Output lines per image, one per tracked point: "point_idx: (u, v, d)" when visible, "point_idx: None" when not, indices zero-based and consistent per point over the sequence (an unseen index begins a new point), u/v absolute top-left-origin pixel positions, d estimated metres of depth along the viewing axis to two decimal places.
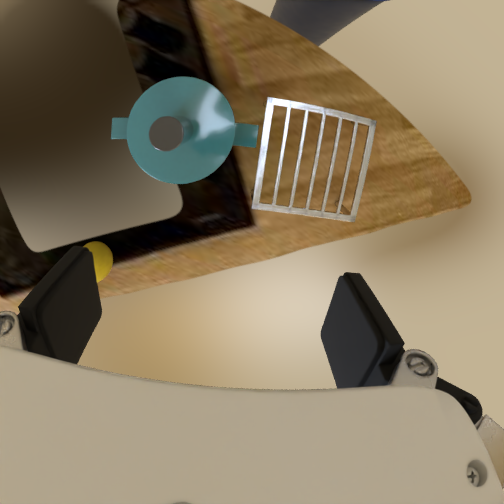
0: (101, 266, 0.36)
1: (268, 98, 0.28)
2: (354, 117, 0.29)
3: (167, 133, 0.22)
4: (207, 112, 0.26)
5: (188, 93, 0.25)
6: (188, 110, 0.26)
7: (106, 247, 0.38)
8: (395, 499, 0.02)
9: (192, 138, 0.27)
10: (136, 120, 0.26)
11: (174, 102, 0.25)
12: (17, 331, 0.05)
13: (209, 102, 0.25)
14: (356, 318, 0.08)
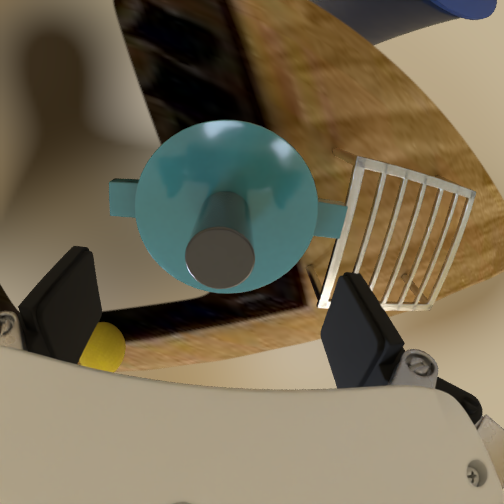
0: (113, 361, 0.27)
1: (358, 158, 0.19)
2: (455, 188, 0.20)
3: (222, 260, 0.12)
4: (275, 188, 0.17)
5: (242, 152, 0.16)
6: (242, 182, 0.16)
7: (116, 332, 0.29)
8: (395, 499, 0.02)
9: None
10: (150, 194, 0.16)
11: (217, 166, 0.16)
12: (17, 331, 0.05)
13: (279, 170, 0.16)
14: (356, 318, 0.08)
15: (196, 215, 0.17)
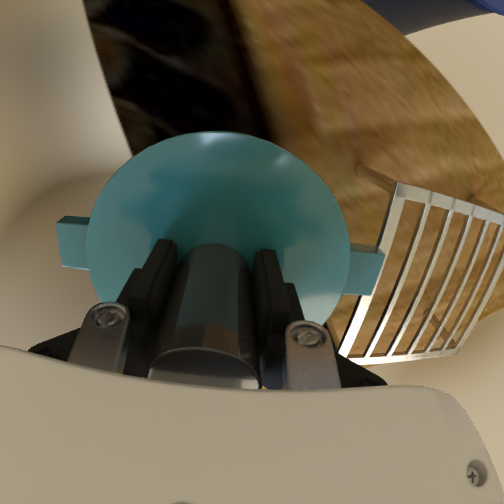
0: None
1: (398, 185, 0.13)
2: (501, 218, 0.14)
3: None
4: (289, 237, 0.11)
5: (239, 183, 0.10)
6: (239, 230, 0.11)
7: None
8: (395, 499, 0.02)
9: None
10: (105, 245, 0.11)
11: (200, 206, 0.10)
12: (122, 330, 0.06)
13: (296, 212, 0.11)
14: (258, 289, 0.09)
15: None
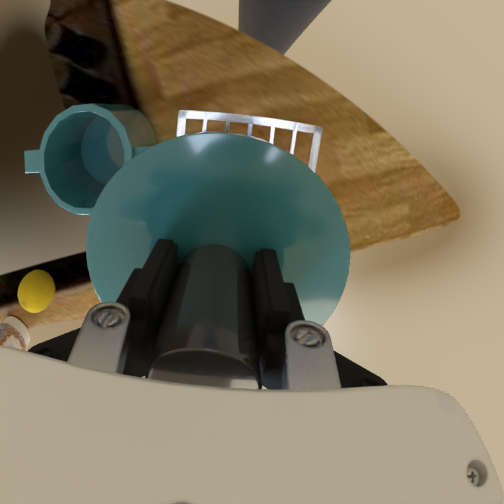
0: (40, 297, 0.31)
1: (179, 111, 0.23)
2: (291, 124, 0.24)
3: None
4: (289, 238, 0.11)
5: (239, 184, 0.10)
6: (239, 231, 0.11)
7: (46, 276, 0.33)
8: (395, 499, 0.02)
9: None
10: (105, 246, 0.11)
11: (200, 207, 0.10)
12: (123, 330, 0.06)
13: (296, 212, 0.11)
14: (257, 289, 0.09)
15: None
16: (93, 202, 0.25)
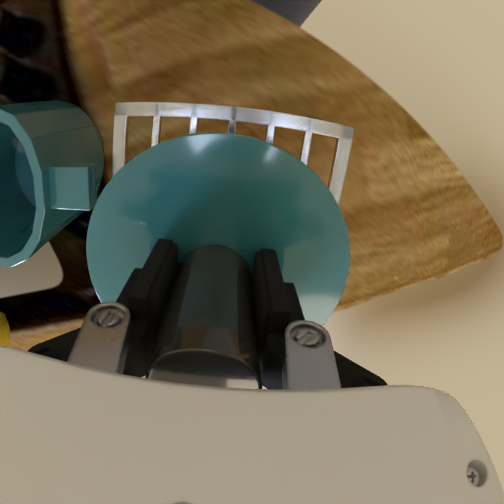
0: None
1: (116, 105, 0.13)
2: (303, 122, 0.14)
3: None
4: (289, 238, 0.11)
5: (239, 184, 0.10)
6: (239, 231, 0.11)
7: None
8: (395, 499, 0.02)
9: None
10: (105, 246, 0.11)
11: (200, 207, 0.10)
12: (122, 330, 0.06)
13: (296, 213, 0.11)
14: (257, 289, 0.09)
15: None
16: (15, 245, 0.15)
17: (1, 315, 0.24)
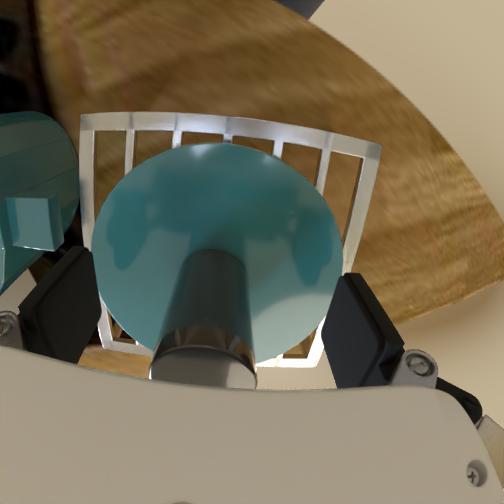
0: None
1: (82, 117, 0.10)
2: (319, 137, 0.11)
3: (206, 385, 0.07)
4: (284, 243, 0.12)
5: (236, 192, 0.11)
6: (237, 236, 0.11)
7: None
8: (395, 499, 0.02)
9: None
10: (109, 250, 0.11)
11: (199, 214, 0.11)
12: (17, 331, 0.05)
13: (290, 219, 0.11)
14: (356, 318, 0.08)
15: (173, 280, 0.12)
16: None
17: None
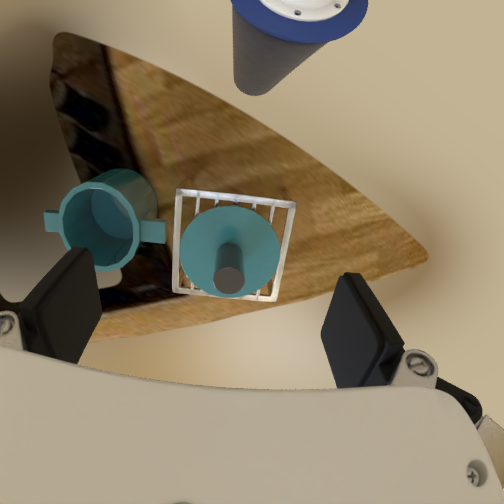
0: None
1: (176, 189, 0.30)
2: (270, 201, 0.31)
3: (230, 281, 0.27)
4: (256, 241, 0.32)
5: (239, 223, 0.31)
6: (239, 238, 0.31)
7: None
8: (395, 499, 0.02)
9: None
10: (188, 243, 0.31)
11: (225, 230, 0.31)
12: (17, 331, 0.05)
13: (258, 232, 0.31)
14: (356, 318, 0.08)
15: (214, 255, 0.32)
16: (106, 259, 0.32)
17: None
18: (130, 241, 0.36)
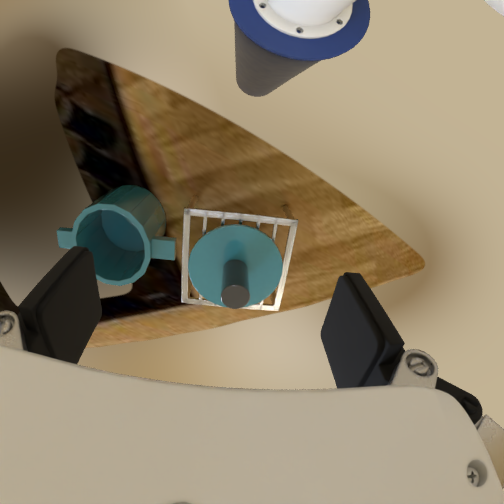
0: None
1: (185, 209, 0.32)
2: (273, 220, 0.33)
3: (236, 297, 0.30)
4: (260, 257, 0.34)
5: (244, 241, 0.33)
6: (244, 255, 0.34)
7: None
8: (395, 499, 0.02)
9: None
10: (197, 259, 0.34)
11: (231, 248, 0.33)
12: (17, 331, 0.05)
13: (262, 249, 0.33)
14: (356, 318, 0.08)
15: (220, 270, 0.34)
16: (119, 273, 0.34)
17: None
18: (140, 254, 0.39)
